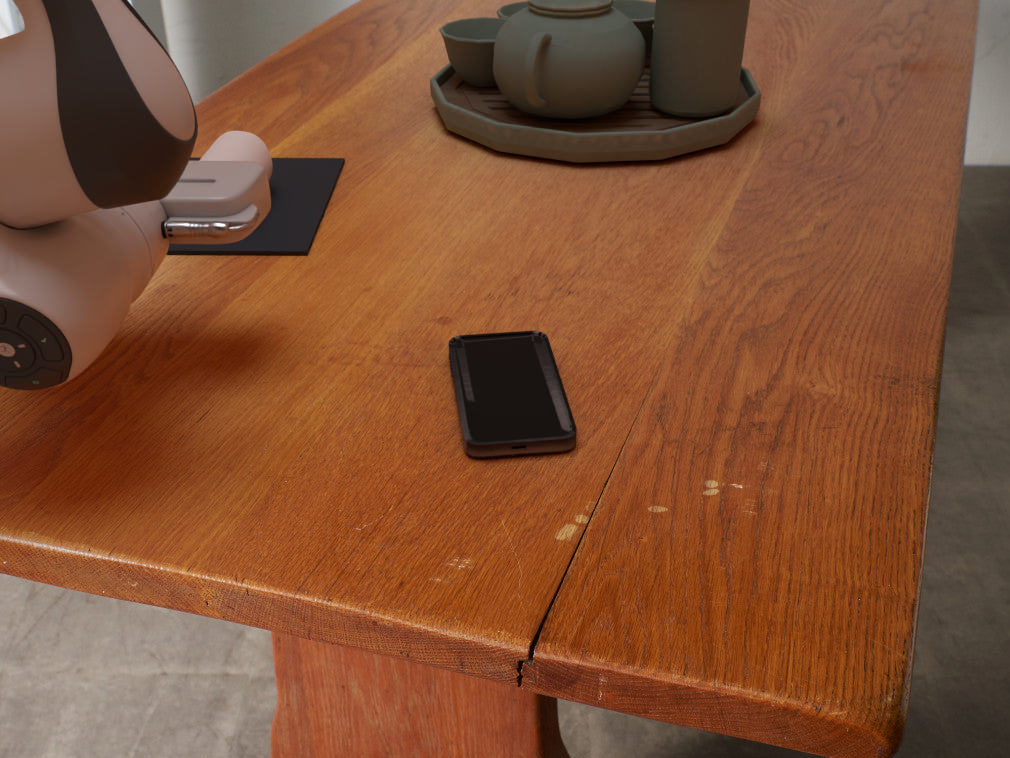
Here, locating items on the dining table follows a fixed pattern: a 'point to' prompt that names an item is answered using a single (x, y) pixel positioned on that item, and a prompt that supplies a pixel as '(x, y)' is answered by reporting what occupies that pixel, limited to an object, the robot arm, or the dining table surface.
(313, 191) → the mat
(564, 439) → the phone
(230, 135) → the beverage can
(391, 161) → the dining table surface
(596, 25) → the tea set
